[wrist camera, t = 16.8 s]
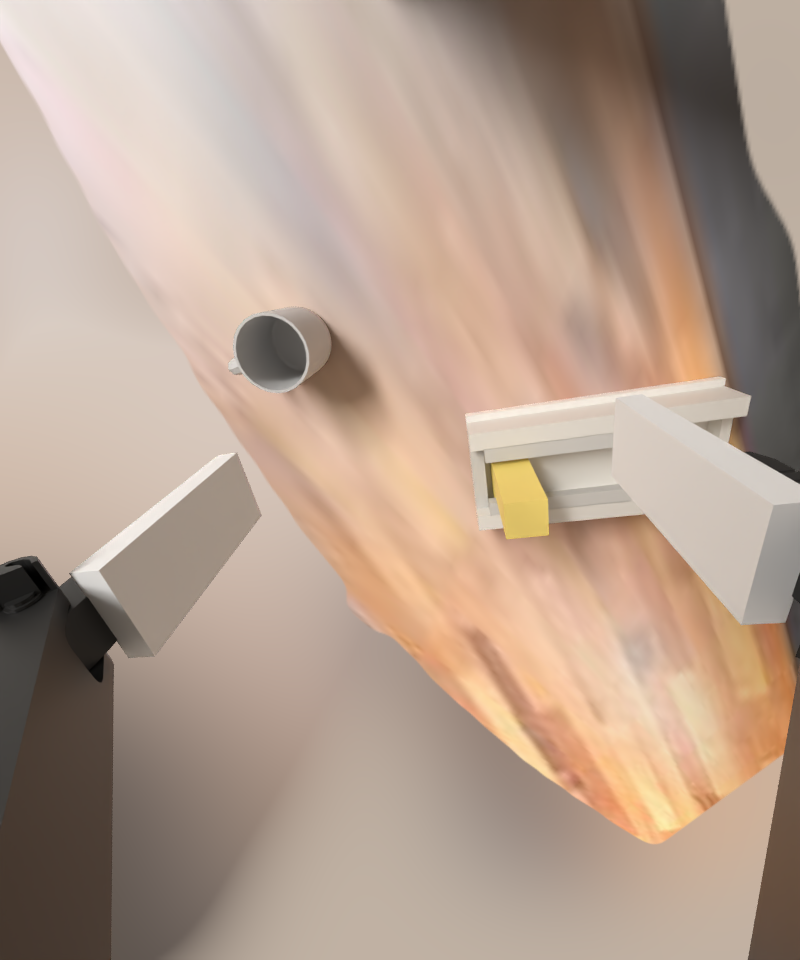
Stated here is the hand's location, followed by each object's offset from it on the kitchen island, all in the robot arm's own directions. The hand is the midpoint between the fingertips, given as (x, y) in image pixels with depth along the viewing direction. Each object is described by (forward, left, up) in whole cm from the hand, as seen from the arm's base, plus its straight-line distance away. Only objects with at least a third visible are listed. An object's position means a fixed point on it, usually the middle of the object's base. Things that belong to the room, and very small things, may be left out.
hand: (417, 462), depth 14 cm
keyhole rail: (+16, +16, -33) cm, 40 cm away
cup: (-2, -16, -33) cm, 37 cm away
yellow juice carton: (+16, +7, -32) cm, 36 cm away
